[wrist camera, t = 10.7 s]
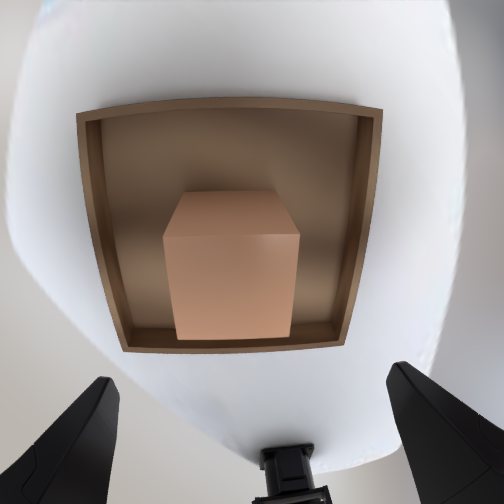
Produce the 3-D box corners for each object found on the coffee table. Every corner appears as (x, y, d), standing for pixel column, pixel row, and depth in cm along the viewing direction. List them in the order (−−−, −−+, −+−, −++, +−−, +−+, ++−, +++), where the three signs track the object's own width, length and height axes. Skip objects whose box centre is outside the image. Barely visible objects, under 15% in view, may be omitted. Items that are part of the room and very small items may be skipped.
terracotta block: (271, 270, 19) (289, 336, 13) (189, 272, 18) (177, 339, 13) (275, 190, 16) (300, 234, 11) (184, 192, 16) (162, 236, 11)
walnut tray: (333, 322, 22) (343, 345, 20) (131, 328, 21) (123, 351, 18) (362, 108, 15) (383, 109, 13) (95, 111, 14) (76, 113, 12)
